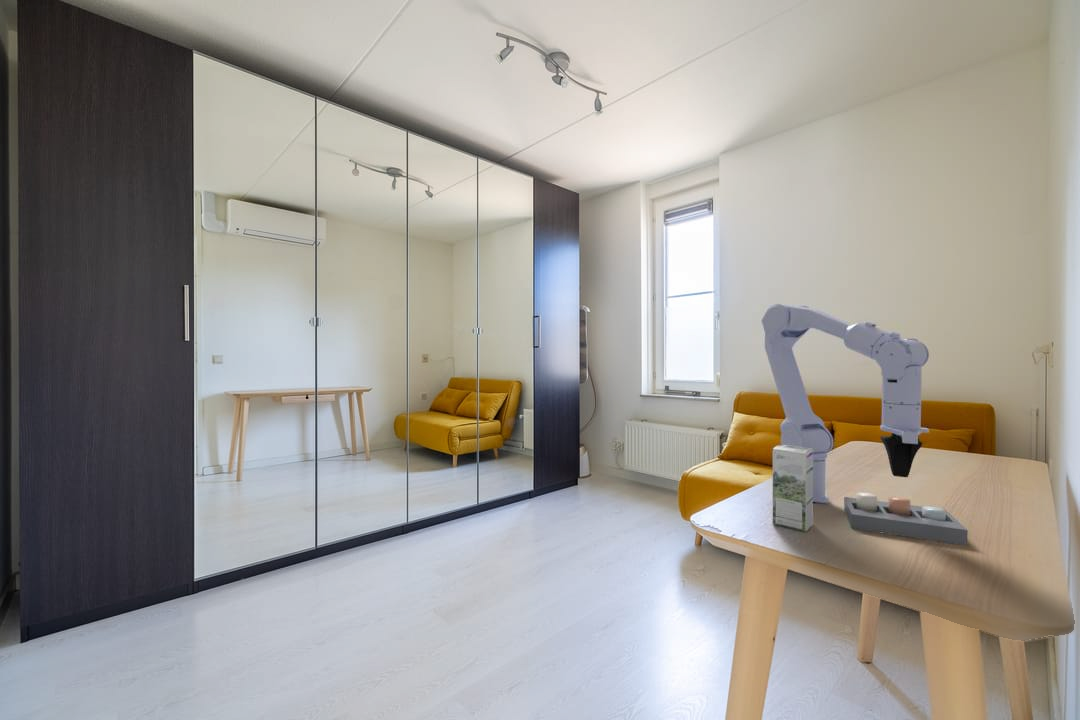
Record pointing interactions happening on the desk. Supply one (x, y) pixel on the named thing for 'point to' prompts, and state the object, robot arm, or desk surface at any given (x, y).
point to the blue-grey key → (933, 513)
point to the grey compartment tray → (905, 523)
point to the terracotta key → (899, 506)
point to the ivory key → (866, 502)
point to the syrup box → (793, 487)
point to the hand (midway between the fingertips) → (899, 476)
